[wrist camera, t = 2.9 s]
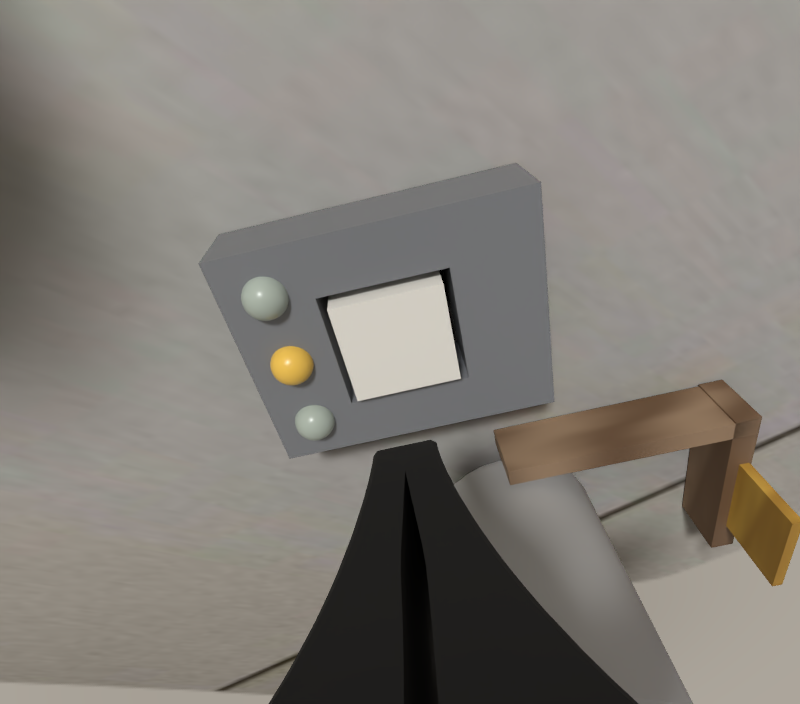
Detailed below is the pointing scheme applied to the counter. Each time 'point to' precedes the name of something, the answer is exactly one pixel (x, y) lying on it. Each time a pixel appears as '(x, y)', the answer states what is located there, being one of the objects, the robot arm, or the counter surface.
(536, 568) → the can
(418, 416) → the panel
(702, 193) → the counter surface
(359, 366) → the block
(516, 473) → the lockout bracket
